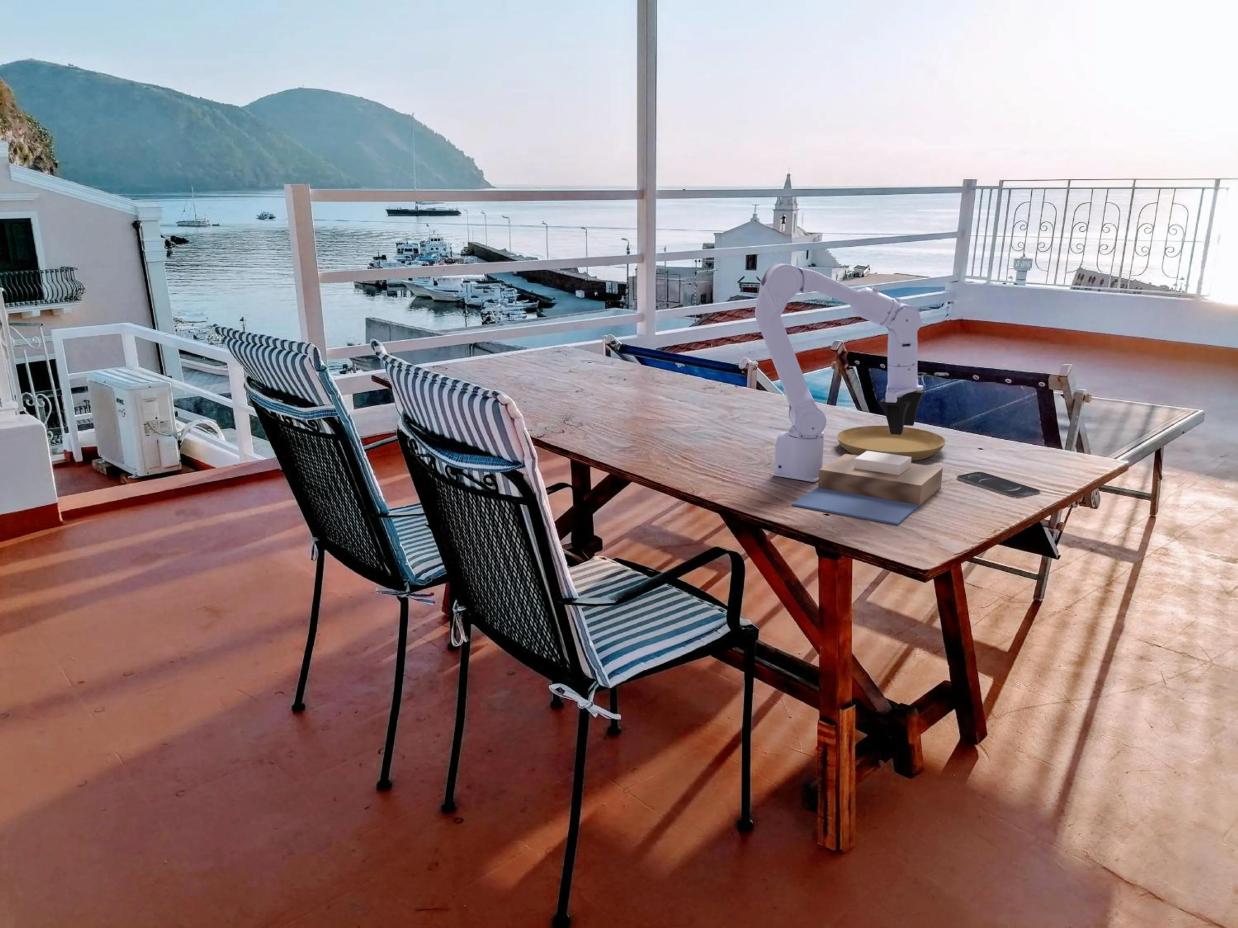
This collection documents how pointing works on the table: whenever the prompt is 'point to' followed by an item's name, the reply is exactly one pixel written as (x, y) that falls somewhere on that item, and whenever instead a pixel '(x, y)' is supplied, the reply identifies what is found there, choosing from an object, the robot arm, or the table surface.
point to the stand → (881, 481)
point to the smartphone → (997, 484)
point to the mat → (856, 505)
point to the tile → (882, 462)
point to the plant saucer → (891, 441)
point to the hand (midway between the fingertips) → (902, 429)
